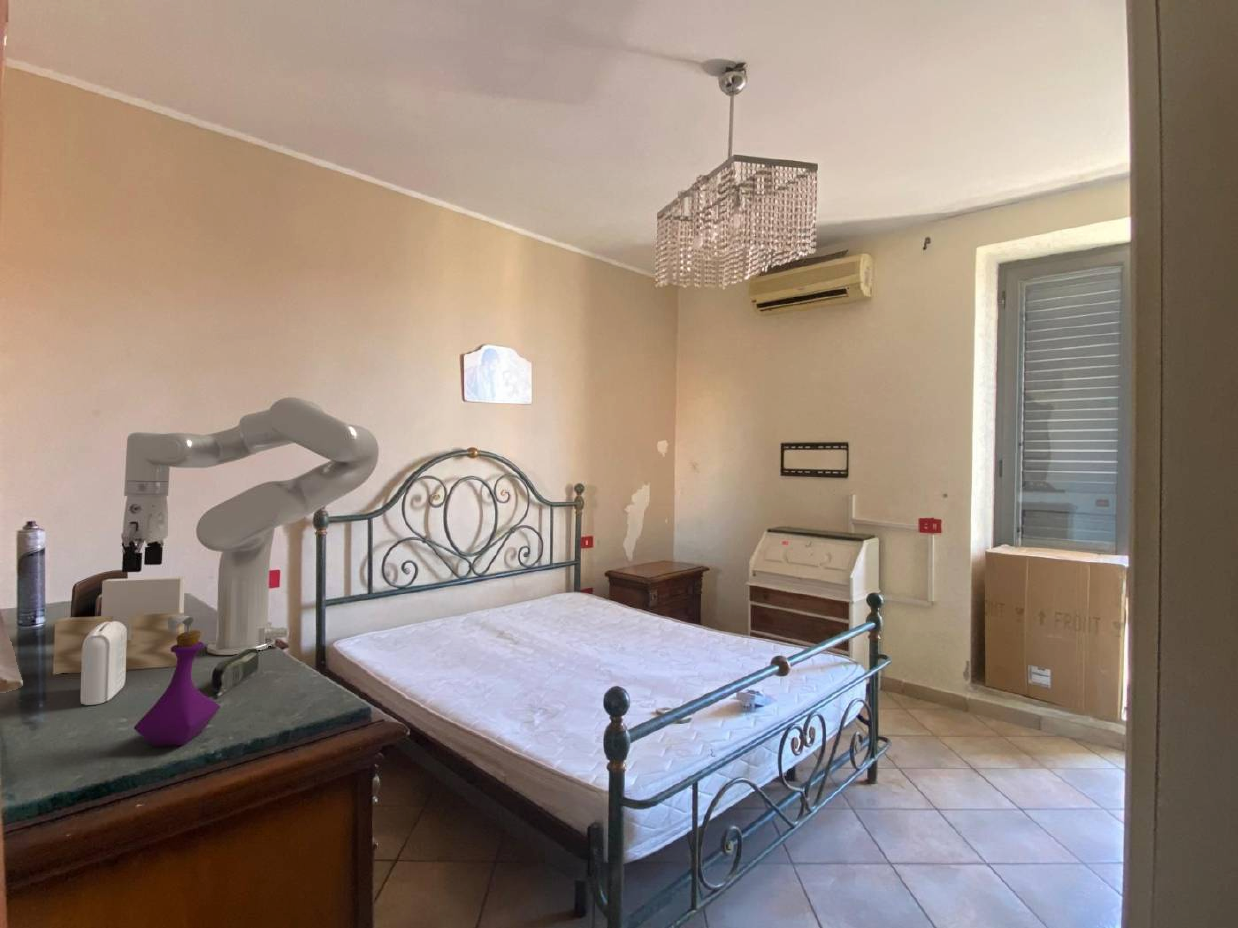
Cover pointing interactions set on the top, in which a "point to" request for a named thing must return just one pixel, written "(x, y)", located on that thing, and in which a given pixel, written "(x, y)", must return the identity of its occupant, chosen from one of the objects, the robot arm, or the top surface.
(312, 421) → the robot arm
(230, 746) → the top surface
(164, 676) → the top surface
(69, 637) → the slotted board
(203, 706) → the perfume bottle
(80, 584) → the letter holder
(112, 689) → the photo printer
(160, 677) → the top surface
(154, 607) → the cream angled block
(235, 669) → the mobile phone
